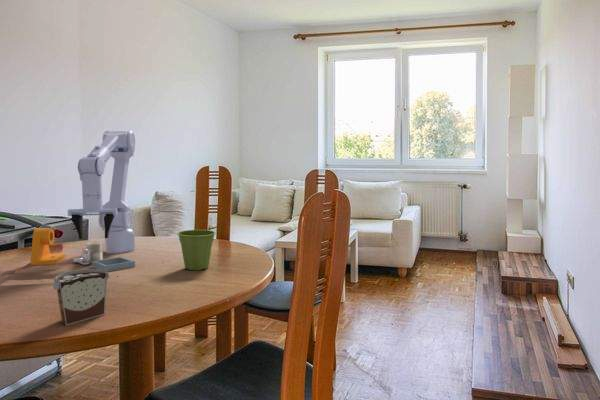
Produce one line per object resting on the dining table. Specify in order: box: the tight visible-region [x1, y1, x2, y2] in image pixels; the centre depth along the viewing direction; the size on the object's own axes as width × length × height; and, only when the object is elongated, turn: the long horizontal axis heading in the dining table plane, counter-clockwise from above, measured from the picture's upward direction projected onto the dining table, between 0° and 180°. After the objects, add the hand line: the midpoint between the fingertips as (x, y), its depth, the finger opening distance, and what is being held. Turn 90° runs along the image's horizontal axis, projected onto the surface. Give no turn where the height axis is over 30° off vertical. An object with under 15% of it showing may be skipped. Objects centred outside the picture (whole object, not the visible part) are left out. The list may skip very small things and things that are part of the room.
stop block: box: [85, 241, 104, 264], centre depth 167 cm, size 4×4×6 cm
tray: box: [91, 256, 136, 273], centre depth 160 cm, size 9×9×3 cm
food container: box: [52, 268, 110, 327], centre depth 115 cm, size 12×6×10 cm, turn 145°
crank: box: [72, 248, 90, 266], centre depth 164 cm, size 9×3×5 cm, turn 45°
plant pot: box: [176, 229, 217, 271], centre depth 163 cm, size 12×12×11 cm
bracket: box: [30, 227, 67, 266], centre depth 168 cm, size 11×7×12 cm, turn 6°
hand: (94, 238), depth 166 cm, fingers open, 7 cm apart
